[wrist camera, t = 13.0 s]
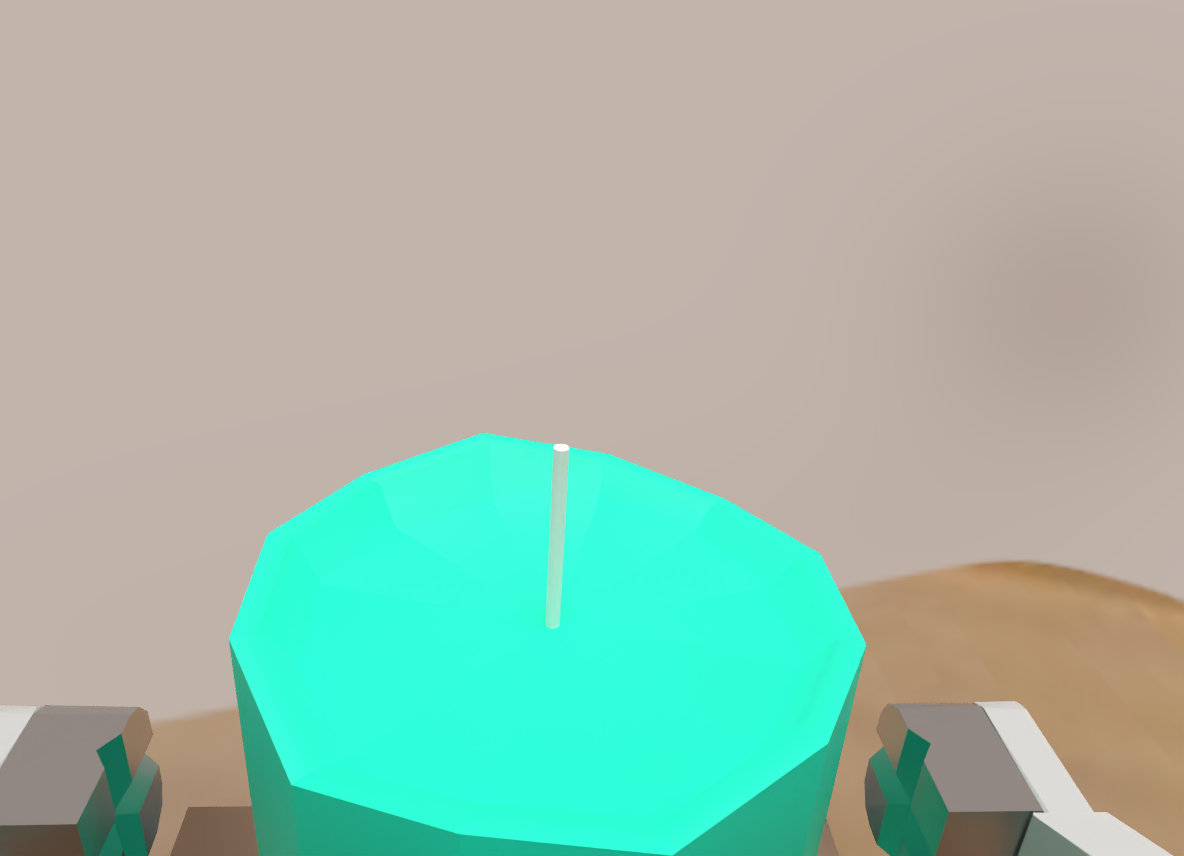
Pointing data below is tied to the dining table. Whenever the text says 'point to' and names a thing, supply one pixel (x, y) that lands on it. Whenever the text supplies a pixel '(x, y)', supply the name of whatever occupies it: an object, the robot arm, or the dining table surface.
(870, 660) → the dining table surface
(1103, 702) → the dining table surface
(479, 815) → the candle
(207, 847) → the collar holder
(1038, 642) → the dining table surface
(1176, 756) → the dining table surface
